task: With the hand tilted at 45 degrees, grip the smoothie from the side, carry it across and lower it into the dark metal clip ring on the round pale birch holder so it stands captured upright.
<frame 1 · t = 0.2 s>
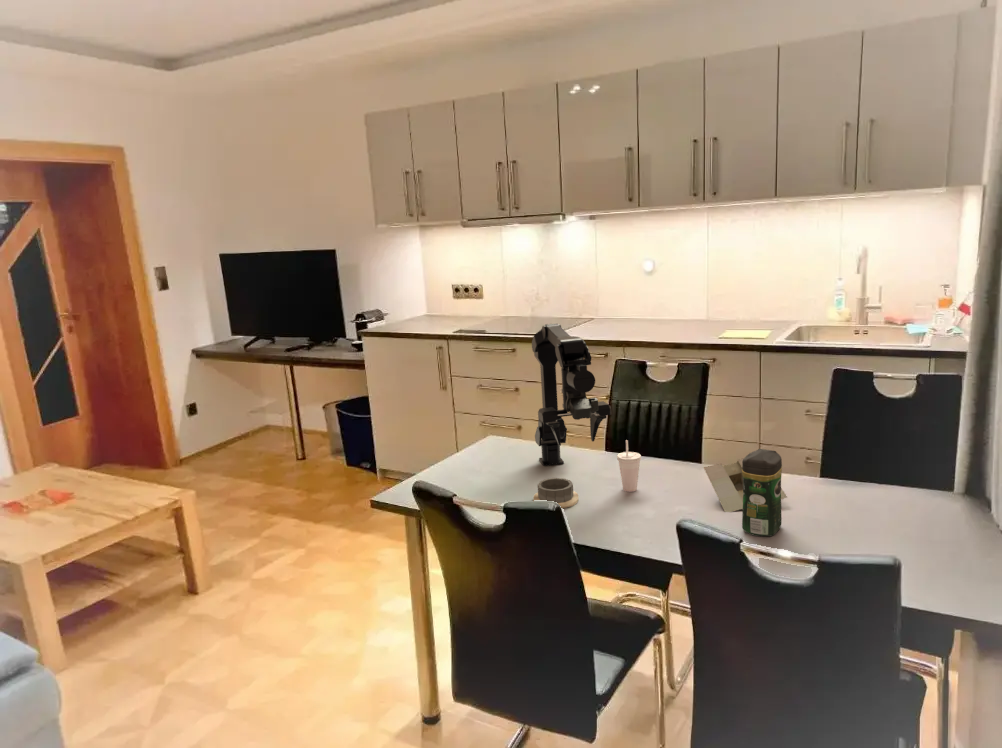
hand: (576, 443, 189), 14 cm above the table, tool pointing down, fingers open, 9 cm apart
smoothie: (630, 489, 193), on the table
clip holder: (556, 500, 189), on the table
coffee jar: (761, 529, 165), on the table
open cardboard box: (744, 500, 182), on the table
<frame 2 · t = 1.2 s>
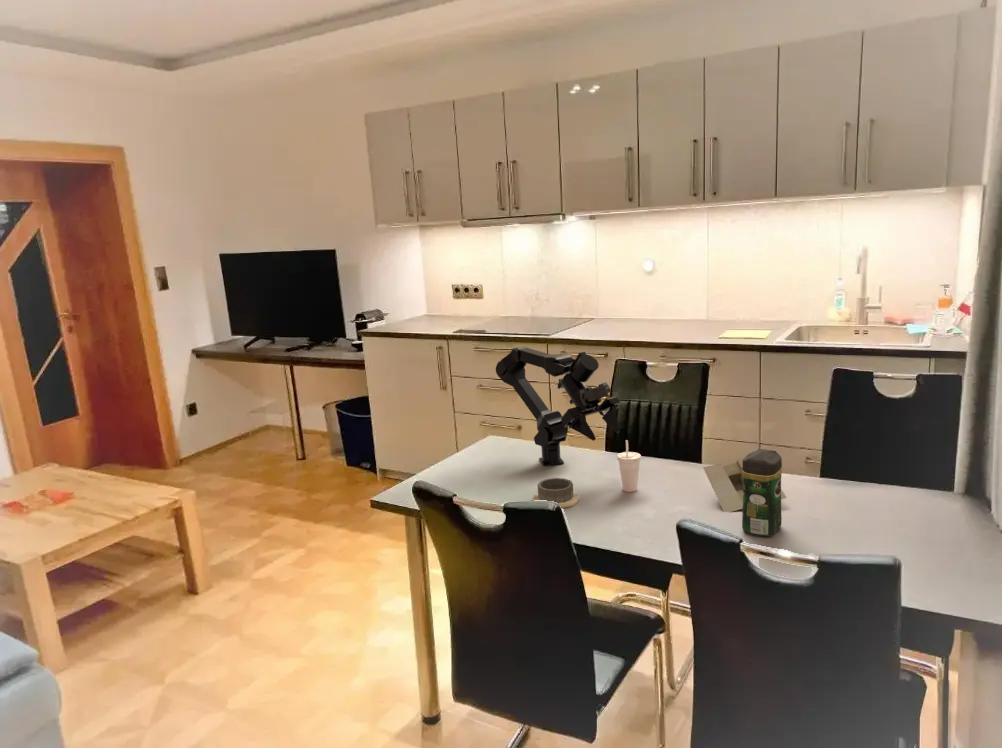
hand: (606, 436, 197), 13 cm above the table, tool tilted 45°, fingers open, 9 cm apart
nothing on the table moved.
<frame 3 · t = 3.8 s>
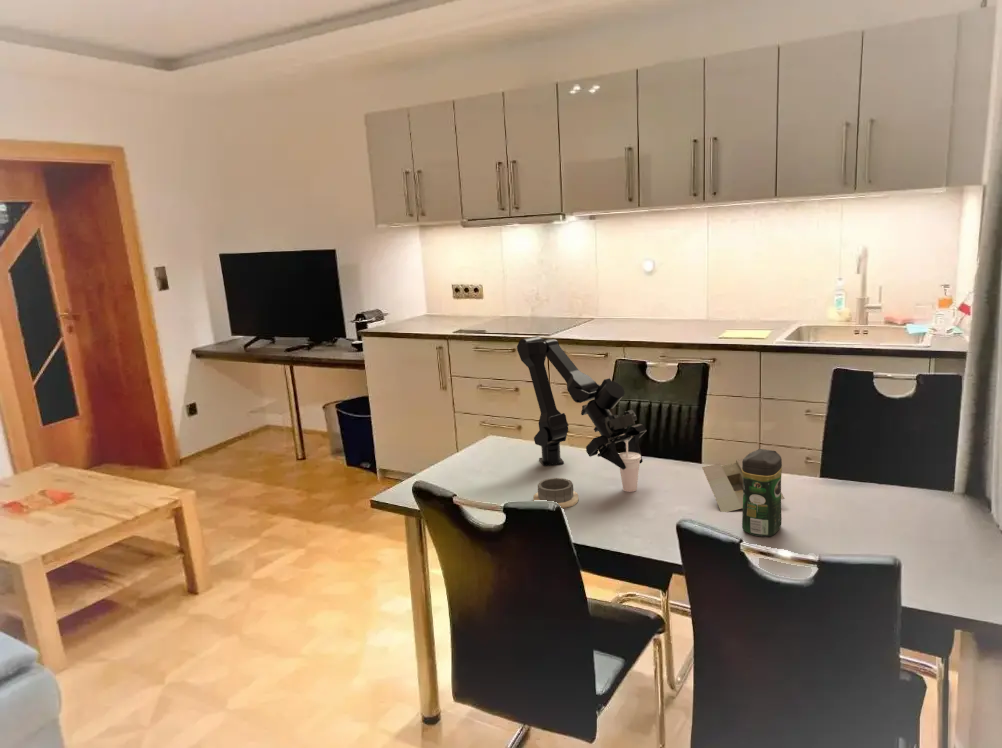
hand: (633, 465, 191), 7 cm above the table, tool tilted 45°, fingers closed on smoothie, 6 cm apart
smoothie: (630, 489, 193), on the table, touching gripper
everything else where it was.
when the fingers open (9 cm above the table, at t = 8.3 s): smoothie drops 1 cm, resting on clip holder.
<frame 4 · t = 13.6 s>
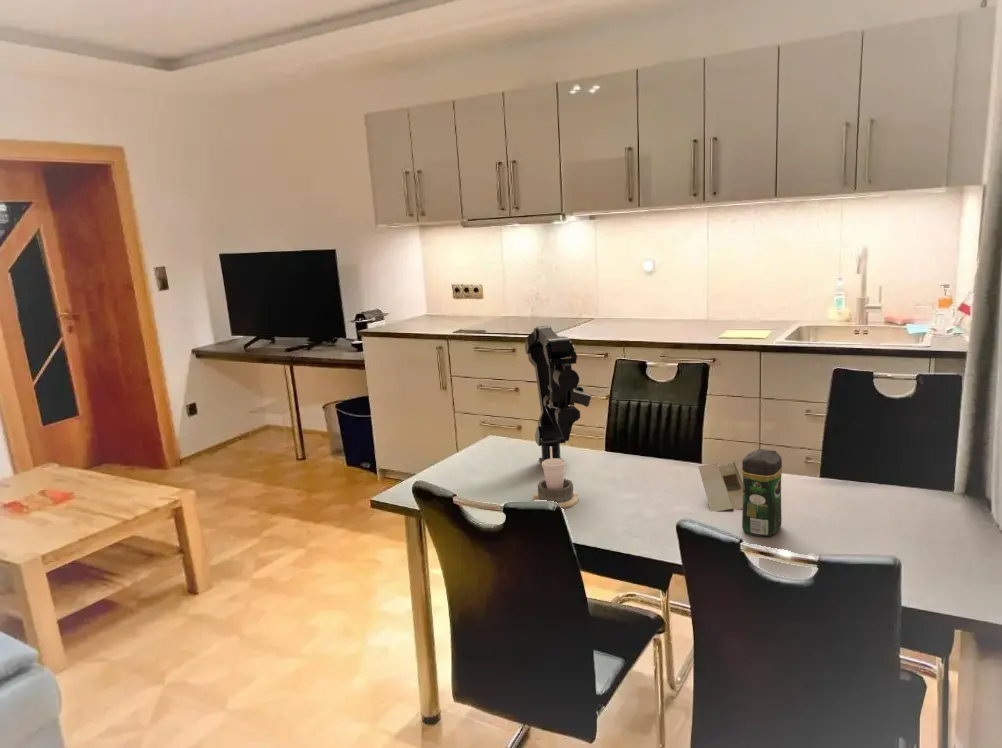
hand: (562, 436, 201), 13 cm above the table, tool pointing down, fingers open, 9 cm apart
smoothie: (555, 497, 189), point 1 cm above the table, touching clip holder
open cardboard box: (736, 501, 182), on the table
everything else where it was.
at the end: smoothie 0.1 cm from the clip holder (horizontally); smoothie point 0.8 cm above the table; smoothie tilted 0° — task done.
